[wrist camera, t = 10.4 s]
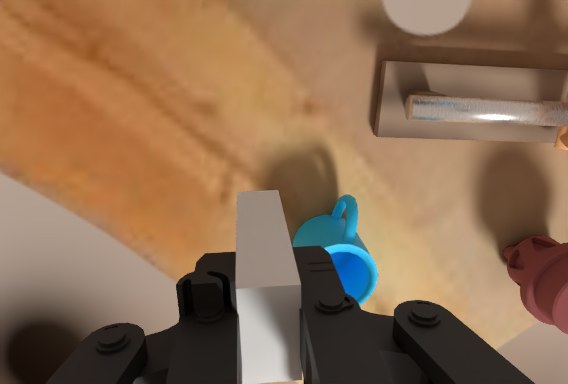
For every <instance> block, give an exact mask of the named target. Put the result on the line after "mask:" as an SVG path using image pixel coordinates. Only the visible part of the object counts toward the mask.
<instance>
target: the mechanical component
mask: <svg viewBox="0 0 568 384" xmlns="http://www.w3.org/2000/svg"><path fill="white" fill-rule="evenodd" d="M503 255H504V257H506V258H507V259H508V263H507V270H508V274H509V276H510V277H511V279H512V280H513V281H514V282H516V283H517V284H518V285H519V286H520V295H521V300H522V302H523V305H524V306H525V308H526V309H527V310H528V311H529V312H530V313H531V314H532V315H533V316H534V317H535V318H537V319H538V320H539V321H541V322H543V323H546V324H550V325H555V326H556V327H557V328H559V329H560V330H561V331H562V332H564V333H566V334H568V243H563V244H560V243H558V242H557V241H555V240H554V239H552V238H550V237H547V236H542V235H539V236H533V237H530V238H527V239H525V240H523V241H522V242H520V243H519V244H518V245H517V246H509V247H507V248H506V249H505V250H504V252H503Z"/></svg>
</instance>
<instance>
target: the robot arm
mask: <svg viewBox="0 0 568 384" xmlns="http://www.w3.org/2000/svg"><path fill="white" fill-rule="evenodd" d="M176 290H177V298H178V307H179V315H180V317H179V322H178V323H177V324H176V325H174V326H172V327H170V328H169V329H166V330H163V331H161V332H158V333H154V334H150V335H147V336H145V334H144V331H143V329H142V328H140V327H139V326H138V325H135V324H130V323H116V324H112V325H108V326H105V327H102V328H100V329H98V330H96V331H94V332H92V333H91V334H90V335H89V336H88V337H86V338H85V339H84V340H83V341H82V342H81V344H80V345H79V346H78V347H77V348H76V350H74V352H73V353H72V354H71V355H70V356H69V357H68V358H67V360H66V361H65V362H64V363H63V364H62V365H61V367H60V368H59V369H58V370H57V371H56V372H55V373H54V375H53V376H52V377H51V378H50V379H49V380H48V381H47V382H46V384H258V383H270V382H282V381H294V380H302V372H303V377H304V384H535V383H534V382H532V381H531V380H530V379H529V378H528V377H527V376H525V375H524V374H523V373H522V372H521V371H519V370H518V369H517V368H516V367H515V366H513V365H512V364H511V363H510V362H509V361H508V360H506V359H505V358H504V357H503V356H502V355H500V354H499V353H498V352H497V351H496V350H495V349H493V348H492V347H491V346H490V345H489V344H487V343H486V342H485V341H484V340H483V339H481V338H480V337H479V336H478V335H477V334H476V333H474V332H473V331H472V330H471V329H470V328H468V327H467V326H466V325H465V324H464V323H463V322H461V321H460V320H459V319H458V318H457V317H455V316H454V315H453V314H452V313H451V312H449V311H448V310H447V309H445V308H443V307H442V306H440V305H438V304H435V303H432V302H429V301H422V300H413V301H406V302H404V303H401V304H399V305H398V306H397V307H396V308H395V309H394V316H387V315H379V314H374V313H369V312H366V311H364V310H361V308H360V306H359V303H358V302H357V301H356V300H355V298H354V297H352V296H350V295H348V294H347V293H346V292H345V290H344V287H343V285H342V283H341V280H340V278H339V275H338V273H337V271H336V268H335V265H334V263H333V260H332V258H331V256H330V253H329V252H328V251H326V250H325V249H324V248H322V247H321V246H320V245H318V246H301V247H292V245H291V241H290V237H289V233H288V228H287V224H286V220H285V216H284V212H283V208H282V204H281V200H280V195H279V191H278V190H267V191H247V192H237V229H236V252H223V253H206V254H204V255H203V256H202V257H201V258H200V259H199V260H198V261H197V262H196V267H195V271H194V272H191V273H189V274H187V275H185V276H184V277H182V278H181V279H180V280H179V281H178V283H177V284H176Z"/></svg>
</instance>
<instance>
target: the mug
mask: <svg viewBox="0 0 568 384" xmlns="http://www.w3.org/2000/svg"><path fill="white" fill-rule="evenodd" d="M345 208H346V220H345V219H344V218H341V217H342V214H343V212H344V210H345ZM357 219H358V208H357V203H356V200H355V198H354V197H352V196H350V195H344V196H342V197H341V198H340V199H339V200H338V202H337V203H336V205H335V207H334V209H333V212H332V214H331V215H320V216H316V217H313V218H311V219H310V220H308V221H306V222H305V223H304V224H303V225H302V226H301V227H300V228H299V229H298V230H297V232H296V235H295V237H294V239H293V247H301V246H318V245H320V246H321V247H322V248H324V249H325V250H326V251H328V252H329V253H330V256H331V258H332V260H333V263H334V265H335V268H336V271H337V273H338V275H339V278H340V280H341V283H342V285H343V287H344V290H345V292H346V293H347V294H348V295H350V296H352V297H354V298H355V300H356V301H357V302H358V303H359V306H360V305H361V304H363V303H364V302H365V301H366V300H367V299H368V298H369V297H370V296H371V294H372V292H373V291H374V289H375V287H376V283H377V277H378V273H377V267H376V264H375V262H374V260H373V259H372V257H371V255H370V254H369V252H368V250H367V249H366V247H365V246H364V244H363V242H362V241H361V239H360V237H359V236H358V234H357V233H356V228H357Z"/></svg>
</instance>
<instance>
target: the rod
mask: <svg viewBox="0 0 568 384" xmlns="http://www.w3.org/2000/svg"><path fill="white" fill-rule="evenodd" d="M405 116H406V119H407V120H412V121H438V122H464V123H490V124H516V125H542V126H568V102H560V101H538V100H516V99H493V98H471V97H449V96H426V95H409V96H408V98H407V100H406V104H405Z"/></svg>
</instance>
